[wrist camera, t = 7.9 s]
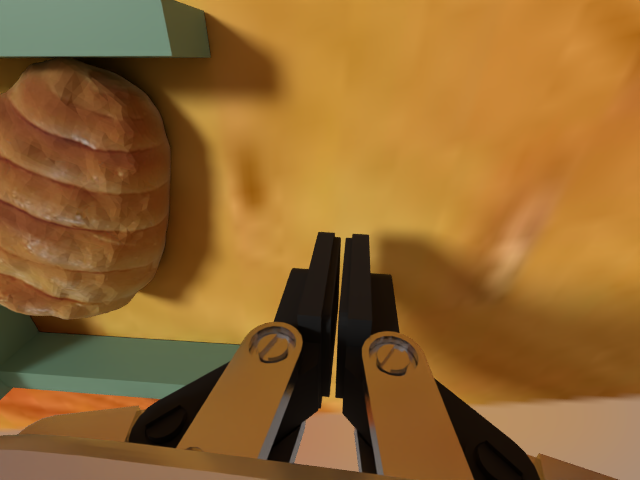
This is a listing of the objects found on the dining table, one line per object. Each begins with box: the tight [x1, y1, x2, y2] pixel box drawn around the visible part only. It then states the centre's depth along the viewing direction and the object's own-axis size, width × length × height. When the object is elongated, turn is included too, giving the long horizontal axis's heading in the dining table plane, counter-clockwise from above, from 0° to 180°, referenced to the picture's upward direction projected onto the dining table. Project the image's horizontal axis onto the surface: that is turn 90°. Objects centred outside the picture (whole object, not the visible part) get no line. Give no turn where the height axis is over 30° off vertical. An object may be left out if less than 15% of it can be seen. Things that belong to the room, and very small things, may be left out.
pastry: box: [0, 57, 171, 320], centre depth 11 cm, size 9×7×4 cm
